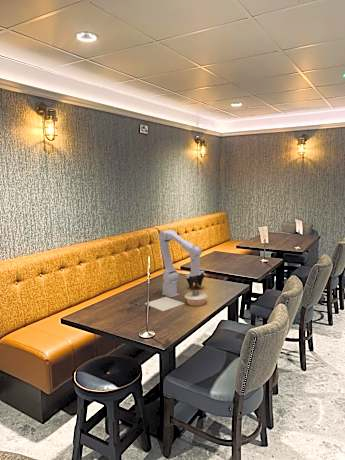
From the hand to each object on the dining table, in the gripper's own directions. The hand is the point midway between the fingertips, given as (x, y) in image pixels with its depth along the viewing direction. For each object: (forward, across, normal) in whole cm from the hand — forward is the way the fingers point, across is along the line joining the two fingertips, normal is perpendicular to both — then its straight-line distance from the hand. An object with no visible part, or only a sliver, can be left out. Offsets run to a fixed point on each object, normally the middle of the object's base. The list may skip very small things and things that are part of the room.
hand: (195, 286), depth 230 cm
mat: (+10, -17, +11) cm, 22 cm away
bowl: (+10, -2, -2) cm, 10 cm away
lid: (+5, -2, -2) cm, 6 cm away
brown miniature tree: (+10, +20, +19) cm, 29 cm away
